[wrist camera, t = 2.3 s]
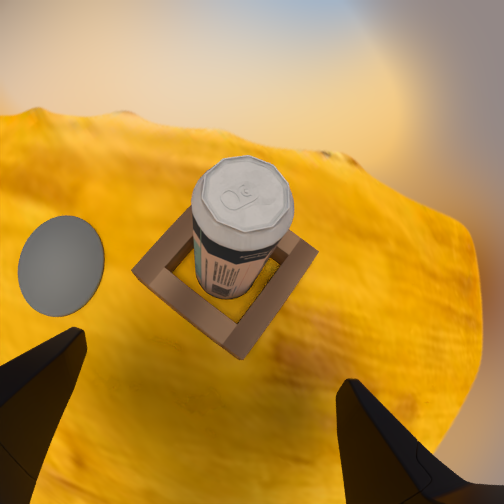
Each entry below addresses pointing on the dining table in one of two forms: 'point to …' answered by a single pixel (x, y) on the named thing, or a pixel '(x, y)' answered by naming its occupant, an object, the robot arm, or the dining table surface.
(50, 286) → the coaster
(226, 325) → the socket block
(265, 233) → the beer can
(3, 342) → the dining table surface
